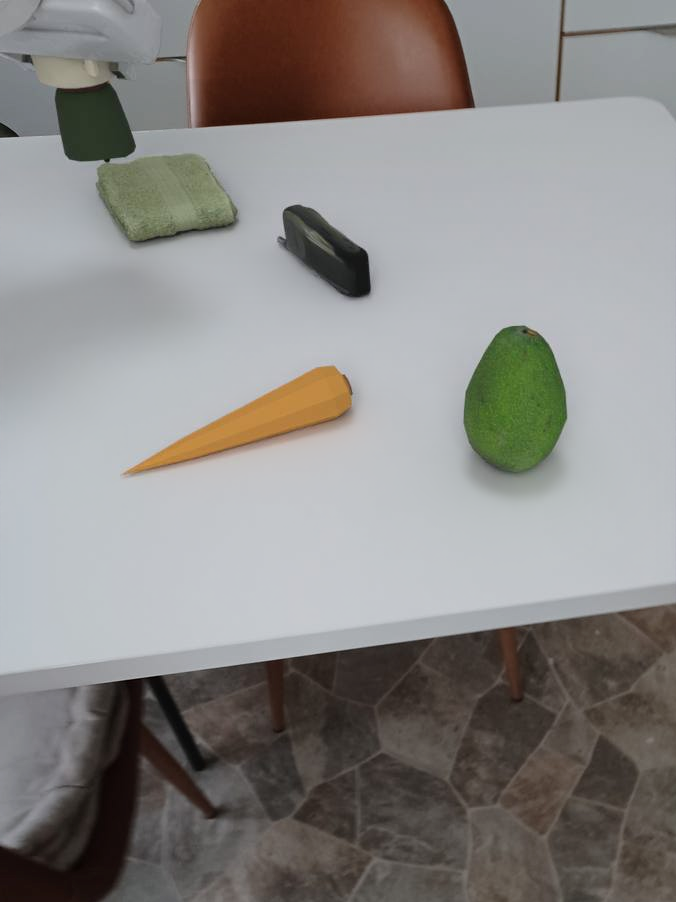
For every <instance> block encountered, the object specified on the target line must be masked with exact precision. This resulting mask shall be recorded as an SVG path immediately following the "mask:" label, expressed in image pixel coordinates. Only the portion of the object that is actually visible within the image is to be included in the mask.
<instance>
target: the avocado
mask: <svg viewBox="0 0 676 902" xmlns="http://www.w3.org/2000/svg"><path fill="white" fill-rule="evenodd" d="M567 406H568V405H567V391H566V388H565V384H564V381H563V377H562V375H561V372H560V368H559V365H558V362H557V359H556V357H555V353H554V352H553V350H552V348H551V345H550V344H549V342H548V341H547V340H546V339H545V338H544V337H543V335H542V334H541V333H540V332H538V331H536V330H534V329H531V328H530V327H528V326H526V325H523V324H522V325H511V326H507V327H503V328H502V329H500V331H498V332H497V333H496V334H495V335H494V336H493V338H492V340H491V341H490V343H489V344H488V346H487V347H486V349H485V350H484V352H483V355H482V356H481V358H480V360H479V362H478V364H477V365H476V367H475V369H474V371H473V374H472V375H471V378H470V379H469V383H468V385H467V388H466V390H465V395H464V405H463V418H462V419H463V420H462V423H463V426H464V430H465V434H466V436H467V440H468V443H469V444H470V446H471V448H472V450H473V451H474V452H475V453H476V454H477V455H478V456H479V457H481V458H482V459H483V460H484V461H485V462H486V463H487V464H489V465H491V466H492V467H494V468H496V469H498V470H499V471H505V472H513V473H518V472H522V471H527V470H530V469H532V468H535V466H537V465H538V464H539V463H541V461H543V460H544V459H546V458H547V457H548V456H549V455H550V454H551V453H552V451H553V449H555V447H556V445H557V443H558V441H559V439H560V437H561V434H562V432H563V429H564V427H565V425H566V423H567V421H568V407H567Z"/></svg>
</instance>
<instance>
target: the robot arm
mask: <svg viewBox="0 0 676 902" xmlns="http://www.w3.org/2000/svg"><path fill="white" fill-rule="evenodd" d="M162 36H163V22H162V19H161V16H160V15H159V14H158V12H157V11H156V10H155V9H154V7H152V5H151V4H150V3H149V2H148V1H147V0H0V57H1V58H5V59H7V60H8V61H11V62H14V63H16V64H17V65H18V66H19V67H20V68H22V69H23V70H24V71H25V72H32V73H33V72H34V73H36V71H35V68H34V64H33V61H32V58H31V55H39V56H50V57H61V58H73V59H84V60H96V61H107V62H111V64H110V71H111V72H112V73H113V74H114V75H116V76H115V77H116V79H118V80H124V81H133V82H134V81H136V80H137V77H138V68H139V65H141V66H152V65H154V63H155V62H156V61H157V59H158V57H159V54H160V50H161V44H162Z"/></svg>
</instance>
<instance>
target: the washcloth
mask: <svg viewBox="0 0 676 902" xmlns="http://www.w3.org/2000/svg"><path fill="white" fill-rule="evenodd" d="M96 175H97V177H98V180H97V182H95V187H96V191H98V193H99V194H100V196H101V199H102V200H103V201H104V203H105V204H106V207H107V208H108V210H109V212H110V213H111V215H112V216H113V219H115V222H116V224H117V225H118V226H119V228H121V229H122V232H123V233H124V234H125V236H126V237H127V239H128V240H129V241H132V242H133V241H134V242H140V241H147V240H150V239H154V238H158V237H162V238H163V237H172V236H174V235H177V233H178V232H184V231H191V230H197V231H199V230H201V231H203V230H207V229H210V228H217V227H223V226H229V225H230V224H232V223H234V222H235V221H236V220H235V217H236V216H237V214H239V209H238V207H237V206H236V205H235V204H234V202H233V200H232V197H231V196H230V195H229V194H228V193H226V189H224V187H223V185H221V183H220V182H219V181H218V179H217V177H216V175H214V172H213V171H212V167H210V165H209V163H208V162H207V161H206V158H204V157H203V156H201V154H198V153H189V152H188V153H183V154H182V153H181V154H175V155H174V154H173V155H154V156H152V155H151V156H141V157H138V158H135V159H133V160H131V161H129V162H124V163H115V162H114V163H113V162H108V163H106V162H104V163H102V164H100V166H98V167H97V168H96Z"/></svg>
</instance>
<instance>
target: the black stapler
mask: <svg viewBox="0 0 676 902" xmlns="http://www.w3.org/2000/svg"><path fill="white" fill-rule="evenodd" d="M282 224H283V230H284V236H285V237H283V236H281V235H280V236H277V238H276V241H277V243H279V244H281V245H282V246H284V247H285V248H286V249H287V250H289V251H290V252H292V253H294V254H295V256H297V257H298V258H299V259H300V260H301V261H302V262H303V263H305V264H306V265H307V266H308V267H310V268H311V269H313V270H314V271H315V272H316V273H317V274H318V275H319V276H320V277H322V278H323V279H324V280H325V281H326V282H328V284H330V285H331V286H332V287H333V288H335V289H336V290H337V291H338V292H339V293H341V294H343V295H345V296H348V297H362V296H365V295H368V294H370V293H371V291H372V290H371V289H372V286H371V275H370V258H369V253H368V252H367V250H366V249H364V248H363V247H361V246H360V245H358V244H357V243H355V242H354V241H353V240H351V239H350V238H348V236H347V235H345V234H344V233H342V232H341V231H340V230H338V229H337V228H336V227H334V226H333V225H331V224H330V223H329V222H328V221H327V220H326V219H325V218H324V217H323V216H322V215H321V214H320V213H319V212H318V211H317V210H315V209H314V208H312V207H308V206H303V205H301V204H293V205H289V206H287V207H285V208H284V209H283V211H282Z"/></svg>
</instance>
